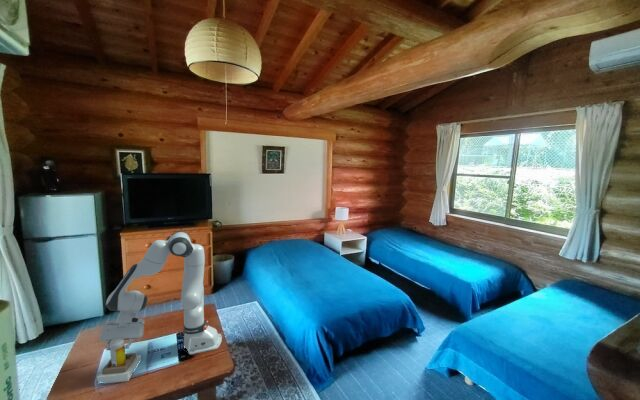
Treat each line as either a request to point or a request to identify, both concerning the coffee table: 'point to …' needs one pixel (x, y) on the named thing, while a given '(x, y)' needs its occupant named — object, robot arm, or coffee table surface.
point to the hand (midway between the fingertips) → (117, 349)
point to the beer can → (117, 352)
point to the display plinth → (119, 370)
